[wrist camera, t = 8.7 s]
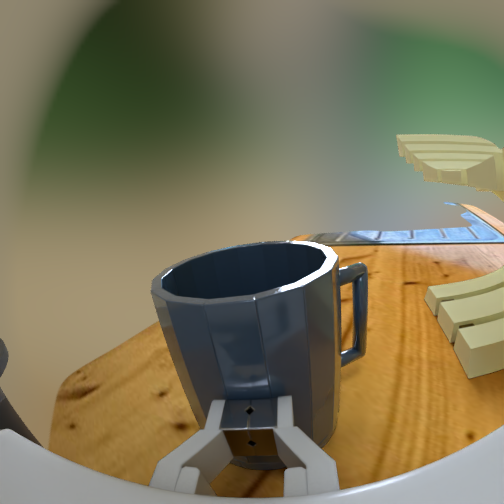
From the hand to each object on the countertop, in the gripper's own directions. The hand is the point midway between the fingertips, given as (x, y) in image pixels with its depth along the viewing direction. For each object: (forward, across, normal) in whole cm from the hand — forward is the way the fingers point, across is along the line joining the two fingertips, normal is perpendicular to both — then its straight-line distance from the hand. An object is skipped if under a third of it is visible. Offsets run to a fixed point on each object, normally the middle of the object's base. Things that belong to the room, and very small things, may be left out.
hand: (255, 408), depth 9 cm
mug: (+5, -1, +5) cm, 7 cm away
